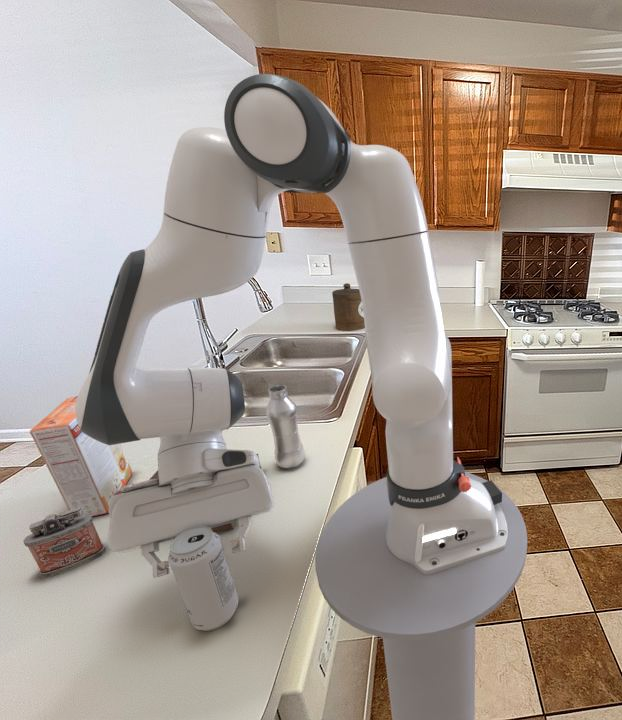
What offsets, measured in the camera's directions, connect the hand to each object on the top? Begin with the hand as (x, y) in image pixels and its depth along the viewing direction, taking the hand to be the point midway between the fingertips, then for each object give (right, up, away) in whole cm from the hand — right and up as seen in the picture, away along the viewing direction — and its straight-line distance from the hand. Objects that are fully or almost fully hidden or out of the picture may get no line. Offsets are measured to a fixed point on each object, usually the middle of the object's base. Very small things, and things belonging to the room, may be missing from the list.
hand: (201, 563), depth 57 cm
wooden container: (-26, +47, +145) cm, 155 cm away
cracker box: (-39, 0, +27) cm, 48 cm away
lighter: (-30, -6, +11) cm, 33 cm away
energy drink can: (0, -9, +3) cm, 10 cm away
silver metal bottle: (-5, +4, +38) cm, 38 cm away
